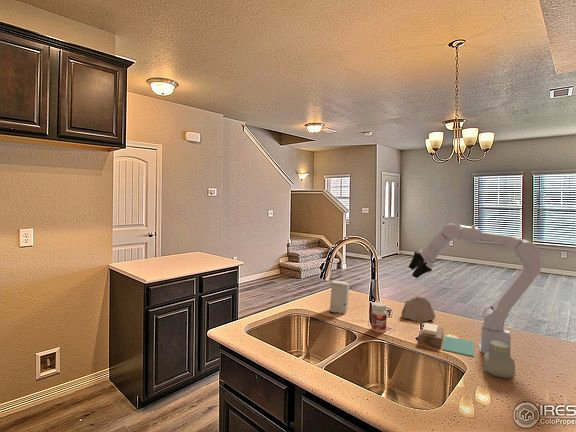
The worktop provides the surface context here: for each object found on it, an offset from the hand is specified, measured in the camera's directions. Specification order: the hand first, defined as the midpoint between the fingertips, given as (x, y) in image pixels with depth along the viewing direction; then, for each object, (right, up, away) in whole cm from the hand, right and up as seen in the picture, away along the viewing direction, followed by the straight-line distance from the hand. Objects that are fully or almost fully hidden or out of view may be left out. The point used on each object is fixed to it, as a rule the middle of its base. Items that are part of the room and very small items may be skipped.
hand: (412, 272), depth 139 cm
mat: (+15, -27, -9) cm, 32 cm away
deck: (+6, -27, -4) cm, 28 cm away
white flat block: (+6, -23, -4) cm, 24 cm away
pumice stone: (+10, -26, +21) cm, 35 cm away
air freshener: (+18, -29, -29) cm, 44 cm away
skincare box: (-26, -25, +29) cm, 46 cm away
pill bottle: (-12, -26, +6) cm, 30 cm away
